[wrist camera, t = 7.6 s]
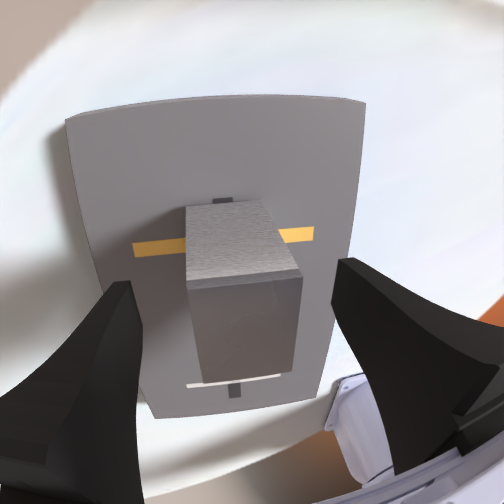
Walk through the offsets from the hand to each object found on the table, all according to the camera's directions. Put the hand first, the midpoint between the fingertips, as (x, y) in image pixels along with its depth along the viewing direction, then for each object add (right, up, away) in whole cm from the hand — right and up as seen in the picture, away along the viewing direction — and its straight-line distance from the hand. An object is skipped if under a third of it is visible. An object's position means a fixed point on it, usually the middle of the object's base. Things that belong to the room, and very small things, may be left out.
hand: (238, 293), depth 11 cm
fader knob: (-1, +2, +3) cm, 3 cm away
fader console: (-1, -1, +7) cm, 7 cm away
